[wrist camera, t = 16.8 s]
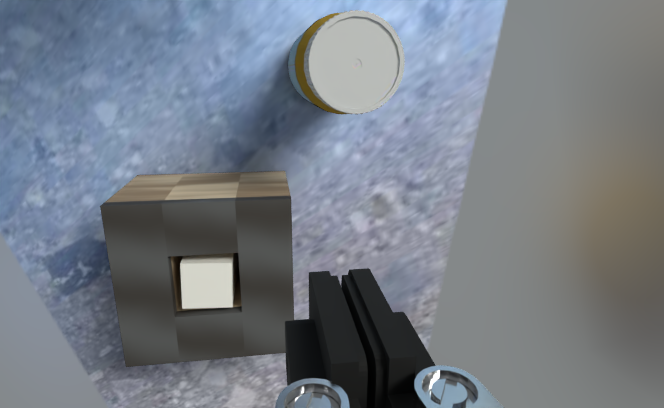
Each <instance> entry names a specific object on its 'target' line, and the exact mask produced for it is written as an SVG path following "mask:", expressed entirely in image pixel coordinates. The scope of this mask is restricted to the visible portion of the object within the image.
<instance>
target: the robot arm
mask: <svg viewBox="0 0 664 408" xmlns="http://www.w3.org/2000/svg"><path fill="white" fill-rule="evenodd" d="M285 348H286V370H287V385H288V386H287V387H286V388H285V389H284V390H283V391H282V392H281V393H280V394H279V396H278V399H277V402H276V406H275V408H504V407H503V406H502V405H501V404H500V403H499V402H498V401H497V400H496V399H495V398H494V396H493V395H492V394H491V393H490V392H489V391H488V390H487V389H486V388H485V387H484V386H483V385H482V384H481V383H480V381H479V380H477V379H476V378H475V377H474V376H472V375H471V374H469V373H467V372H465V371H464V370H461V369H458V368H455V367H451V366H435V364H434V362H433V361H432V359H431V357H430V355H429V354H428V352H427V350H426V348H425V347H424V345H423V343H422V342H421V340H420V338H419V336H418V335H417V333H416V331H415V330H414V328H413V326H412V325H411V323H410V321H409V319H408V318H407V316H406V315H405V313H404V312H392V310H391V308H390V306H389V304H388V303H387V301H386V299H385V297H384V295H383V293H382V291H381V290H380V288H379V286H378V284H377V282H376V280H375V278H374V276H373V275H372V273H371V271H370V269H353V270H349V273H348V275H342V283H341V285H340V283H339V280H338V277H337V276H331V275H330V272H329V271H322V272H309V319H304V320H292V321H285Z"/></svg>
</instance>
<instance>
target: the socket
mask: <svg viewBox="0 0 664 408" xmlns="http://www.w3.org/2000/svg"><path fill="white" fill-rule="evenodd" d="M100 208H101V214H102V220H103V227H104V233H105V239H106V245H107V252H108V258H109V264H110V270H111V276H112V283H113V289H114V295H115V301H116V308H117V314H118V320H119V326H120V333H121V339H122V345H123V351H124V358H125V364H126V367H131V366H143V365H154V364H165V363H176V362H187V361H198V360H210V359H221V358H232V357H243V356H254V355H265V354H277V353H286V348H285V321H292V320H294V300H293V258H292V216H291V196H290V192H289V187H288V183H287V178H286V173H285V171H268V172H232V173H197V174H161V175H137V176H136V177H135V178H134V179H132V180H131V181H130V182H129V183H128V184H126V185H125V186H124V187H123V188H122V189H120V190H119V191H118V192H117V193H116V194H114V195H113V196H112V197H111V198H109V199H108V200H107V201H106V202H105V203H103V204H102V205H101V206H100ZM224 253H238V256H239V263H238V269H237V277H236V285H235V293H234V300H233V307H228V308H192V309H182V292H181V271H180V263H181V261H182V258H183V256H188V255H206V254H224Z"/></svg>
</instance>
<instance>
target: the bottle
mask: <svg viewBox="0 0 664 408" xmlns="http://www.w3.org/2000/svg"><path fill="white" fill-rule="evenodd" d="M288 70H289V76H290V79H291V81H292V84H293V86H294V87H295V89H296V90H297V91H298V93H299V94H300V95H301V96H302V97H303V98H305V99H306V100H308V101H309V102H311V103H313V104H314V105H316V106H317V107H319V108H321V109H323V110H325V111H327V112H332V113H336V114H359V113H360V114H363V113H368V112H369V111H373V110H375V109H377V108H379V107H381V106H382V105H383V104H384V103H386V102H387V101H388V100H389V99H390V98H391V97H392V96H393V94H394V93H395V92H396V90H397V88H398V86H399V84H400V82H401V79H402V76H403V72H404V51H403V47H402V44H401V41H400V39H399V37H398V35H397V33H396V32H395V30H394V29H393V28H392V26H390V24H388V22H386V21H385V20H384V19H383V18H381V17H379V16H378V15H375V14H374V13H369V12H364V11H358V10H355V11H352V10H351V11H349V12H347V11H346V12H344V13H334V14H330V15H328V16H326V17H323V18H321V19H319V20H317V21H316V22H315V23H313V24H312V25H311V26H310V27H309V28H308V29H307V30H306V31H305V32H304V33H303V34H302V35H301V36H300V37H299V38H298V39H297V40H296V41H295V43H294V45H293V47H292V49H291V51H290V55H289V60H288Z"/></svg>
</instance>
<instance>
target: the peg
mask: <svg viewBox="0 0 664 408" xmlns="http://www.w3.org/2000/svg"><path fill="white" fill-rule="evenodd" d="M238 261H239V256H238V253H224V254H206V255H188V256H183V258H182V261H181V263H180V271H181V292H182V309H192V308H228V307H233V300H234V293H235V285H236V277H237V269H238Z"/></svg>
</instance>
